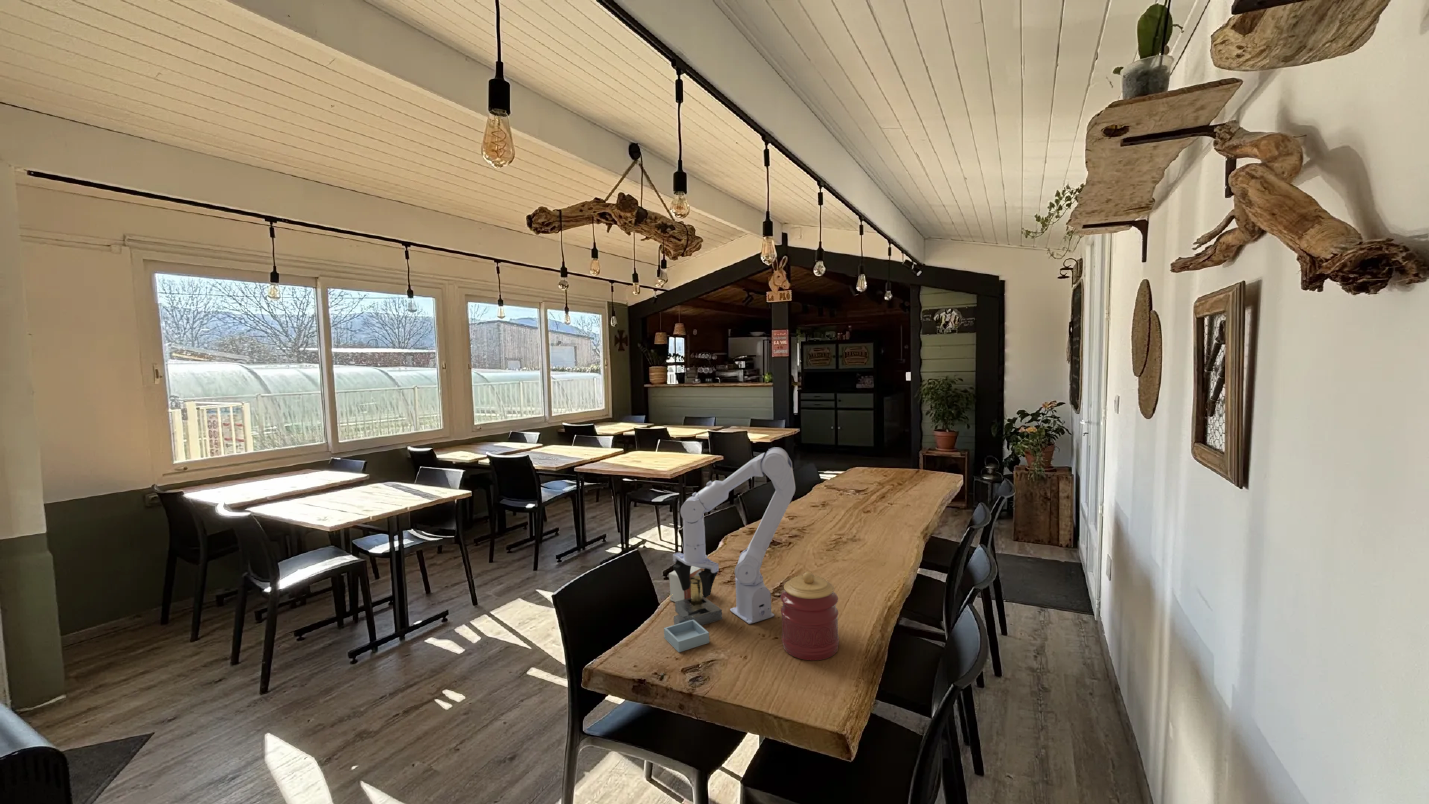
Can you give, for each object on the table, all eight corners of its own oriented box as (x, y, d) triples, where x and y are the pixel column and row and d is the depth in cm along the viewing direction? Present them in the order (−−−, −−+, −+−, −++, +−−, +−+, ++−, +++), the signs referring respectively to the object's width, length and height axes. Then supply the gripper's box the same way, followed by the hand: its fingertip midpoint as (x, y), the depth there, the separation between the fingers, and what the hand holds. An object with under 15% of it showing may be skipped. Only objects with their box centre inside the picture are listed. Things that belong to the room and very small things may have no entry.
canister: (800, 627, 137) (798, 557, 136) (849, 643, 129) (847, 569, 128) (770, 650, 127) (768, 575, 126) (821, 668, 119) (819, 588, 118)
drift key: (704, 623, 141) (703, 614, 141) (679, 631, 138) (679, 621, 137) (698, 619, 144) (697, 609, 144) (674, 626, 140) (673, 616, 140)
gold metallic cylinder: (705, 611, 148) (703, 578, 147) (694, 614, 146) (693, 581, 146) (699, 607, 151) (698, 574, 150) (689, 610, 149) (687, 577, 148)
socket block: (722, 619, 143) (721, 609, 143) (694, 627, 139) (694, 617, 139) (701, 603, 153) (701, 594, 152) (675, 611, 149) (675, 601, 149)
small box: (708, 591, 160) (685, 605, 152) (693, 587, 164) (669, 601, 155) (707, 564, 160) (683, 577, 151) (692, 560, 163) (668, 573, 155)
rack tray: (709, 642, 132) (708, 632, 131) (678, 652, 128) (678, 641, 127) (693, 629, 138) (693, 619, 138) (664, 637, 135) (663, 628, 134)
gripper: (725, 543, 146) (726, 594, 147) (684, 534, 155) (686, 581, 156) (707, 551, 140) (709, 603, 141) (666, 540, 149) (668, 590, 150)
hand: (696, 592), depth 148 cm, fingers open, 7 cm apart
